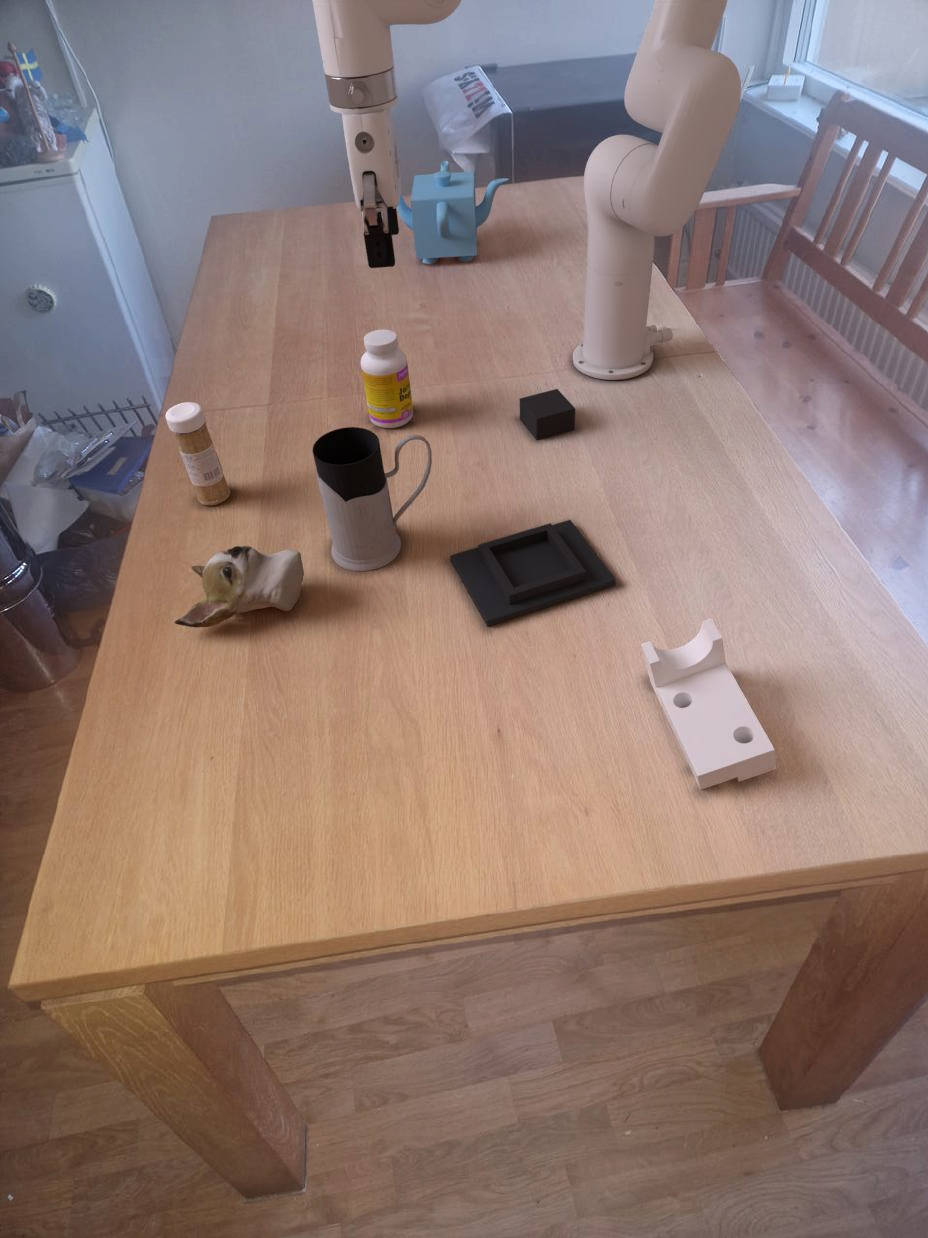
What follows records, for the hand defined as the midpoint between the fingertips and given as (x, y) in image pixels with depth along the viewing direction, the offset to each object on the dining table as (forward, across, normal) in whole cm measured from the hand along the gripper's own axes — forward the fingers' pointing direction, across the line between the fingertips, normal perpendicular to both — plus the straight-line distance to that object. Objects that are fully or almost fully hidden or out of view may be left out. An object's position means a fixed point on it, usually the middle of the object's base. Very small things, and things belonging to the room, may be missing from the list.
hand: (384, 249), depth 99 cm
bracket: (+26, -56, -31) cm, 69 cm away
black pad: (+26, -1, -20) cm, 33 cm away
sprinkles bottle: (+26, -14, +26) cm, 39 cm away
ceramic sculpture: (+26, -35, +18) cm, 47 cm away
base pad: (+26, -33, -16) cm, 44 cm away
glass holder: (+26, -25, +2) cm, 36 cm away
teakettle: (+26, +65, -6) cm, 70 cm away
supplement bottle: (+26, +3, +3) cm, 26 cm away
